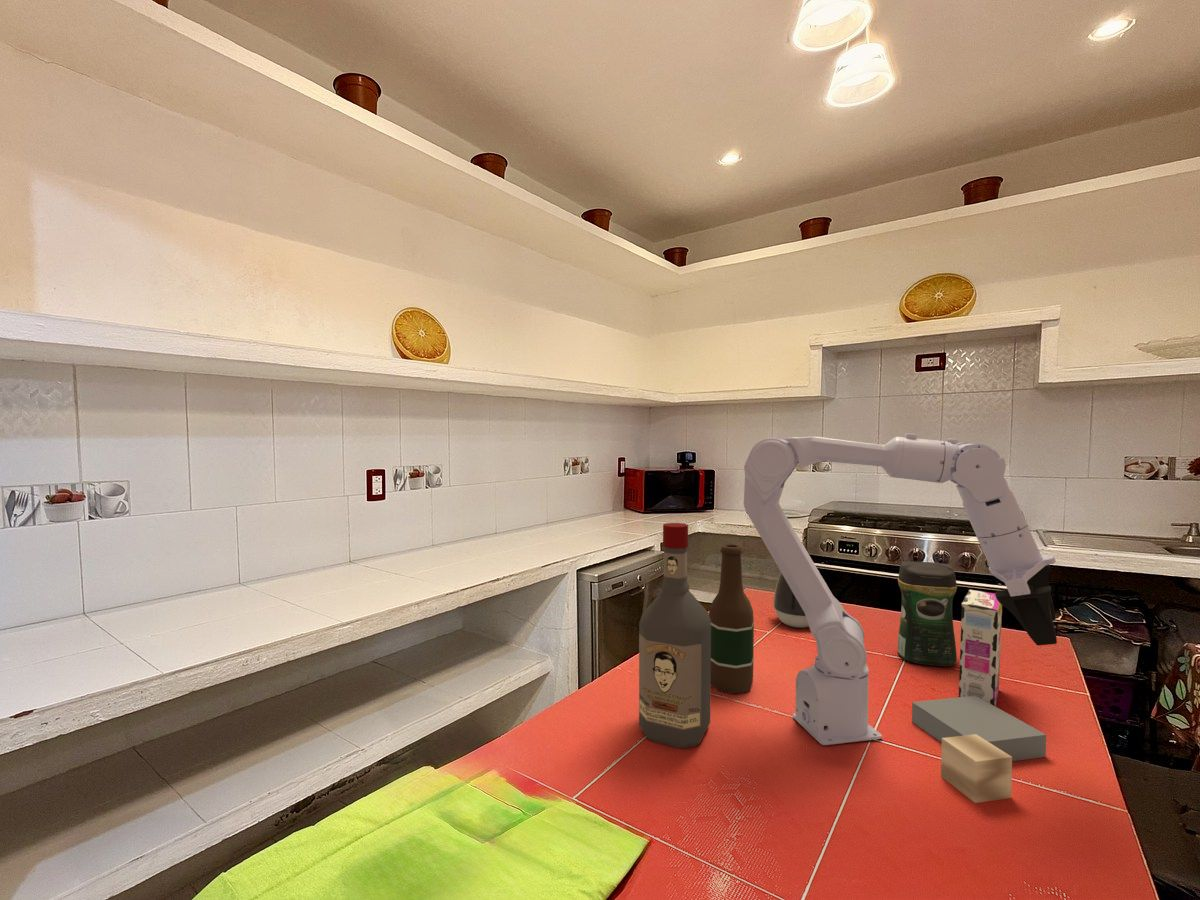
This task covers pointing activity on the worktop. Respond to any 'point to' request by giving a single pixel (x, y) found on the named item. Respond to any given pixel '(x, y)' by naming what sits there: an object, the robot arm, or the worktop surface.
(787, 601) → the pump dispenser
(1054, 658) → the worktop surface
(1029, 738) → the slate pedestal
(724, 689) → the beer bottle
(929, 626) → the coffee jar
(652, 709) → the liquor
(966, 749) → the birch cube
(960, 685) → the candy bar box
